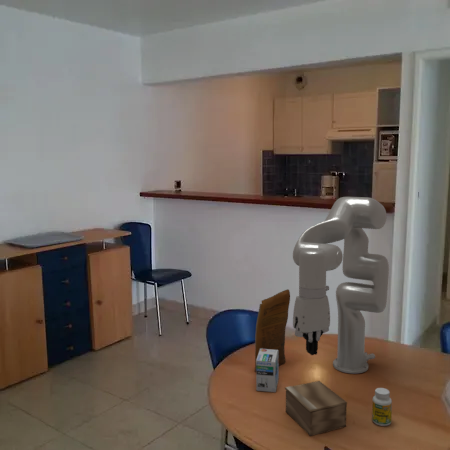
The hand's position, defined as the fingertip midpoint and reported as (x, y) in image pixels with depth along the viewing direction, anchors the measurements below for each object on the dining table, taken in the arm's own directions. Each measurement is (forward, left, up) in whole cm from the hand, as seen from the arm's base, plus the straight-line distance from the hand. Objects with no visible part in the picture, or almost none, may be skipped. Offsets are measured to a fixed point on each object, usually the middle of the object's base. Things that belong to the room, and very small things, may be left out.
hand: (311, 353), depth 142 cm
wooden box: (-1, 0, -21) cm, 21 cm away
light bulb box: (+2, -25, -21) cm, 33 cm away
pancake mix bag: (-6, -37, -21) cm, 43 cm away
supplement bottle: (-18, +9, -21) cm, 30 cm away
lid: (-1, 0, -14) cm, 14 cm away
